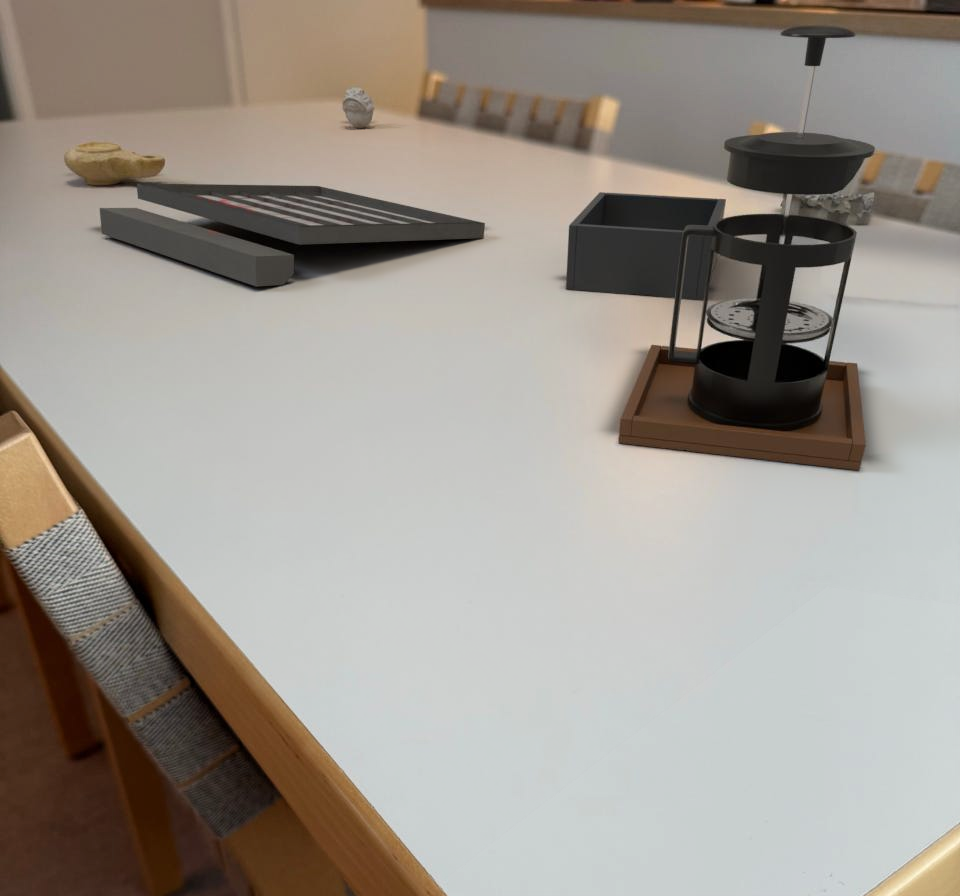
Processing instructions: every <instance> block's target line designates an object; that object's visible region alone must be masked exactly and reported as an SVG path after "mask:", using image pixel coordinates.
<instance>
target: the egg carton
mask: <svg viewBox="0 0 960 896" xmlns="http://www.w3.org/2000/svg"><path fill="white" fill-rule="evenodd" d="M786 198H787V194H783V196H782V200H781V203H780V205H779V207H781V210H780V214H784V209H785V203H786ZM874 201H875V191H871V192H869V193H865V194H862V193H858V194H856V195H855V194H854V193H853V192H852V193H848V194H844V193H843V192H842V191H838V192H836V193H833V194H822V195H798V194H793V198H792V203H791V209H790V215H800V216H809V217H816V218H822V219H827V220H832V221H835V222H839V223H842V224H845V225H847V226H857V225H867V224H868V221H869V217H870V213H871V211H872V206H873V203H874Z"/></svg>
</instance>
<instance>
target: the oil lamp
mask: <svg viewBox="0 0 960 896" xmlns="http://www.w3.org/2000/svg"><path fill="white" fill-rule="evenodd" d="M63 159H64V161H63V162H64V164H65V166H66V167H67V168H68V170H70V171H71V172H72V173H73V174H75V175H76V176H79V177H81V178H82V179H83V180H84V182H85V183H86V184H87V185H90V186H110V185H111V186H112V185H116V184H119V183H121V182H122V181H124V180H127V179H148V178H153V177H157V175H159V174H160V173H161V172H162V171H163V169H164V168H165V165H166V159H165V157H162V156H161V155H159V154H143V153H136V152H135V151H129V150H124V149H122V148H121V146H120V145H119V144H118V143H113V142H106V141H105V142H104V141H103V142H100V141H99V142H98V141H90V142H85V143H79V144H77V145H76V146H75V147H74V148H70V149H68V150H67V151H65V152H64V154H63Z"/></svg>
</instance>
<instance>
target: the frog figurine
mask: <svg viewBox="0 0 960 896" xmlns="http://www.w3.org/2000/svg"><path fill="white" fill-rule="evenodd" d="M345 90H346V91H345V94H344V98H343V99H342V107H341V108H342V111H343V112H344V114H345V118H346V119H347V121H348V123H349V124H350V125H351V126H353V127H354V128H356V129H364V128H366V127H367V126H369V125H370V123H371V122H372V119H373V115H374V111H375V104H374V102H373V100H372V97H371V96H370V95H369V94H368V93H367V92H365V90H363V89H362V88H361V87H359V86H358V87H356V86H352V88H350V89H349V88H347V89H345Z"/></svg>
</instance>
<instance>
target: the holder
mask: <svg viewBox="0 0 960 896" xmlns="http://www.w3.org/2000/svg"><path fill="white" fill-rule="evenodd" d="M726 201H727V199H726V198H712V197H695V196H693V197H692V196H676V195H659V194H658V195H657V194H642V193H641V194H638V193H623V192H620V193H619V192H604V191H603V192H602V191H600V192H598V193H597V194H596V195H595V196H594V198H593V199H592V200H591V201H590V202H589V203H588V204H587V205H586V207H585V208H584V209H582V211H581V212H580V213H579V214H578V215H577V216H576V217H575V218H574V219H573V221H572V222H570V224H569V225H568V238H567V239H568V241H567V259H566V278H565V289H566V290H571V291H572V290H574V291H583V292H584V291H585V292H595V293H596V292H598V293H608V292H609V293H610V294H621V293H624V294H623V295H633V294H636V295H635V296H646V295H649V297H659V296H662V297H661V298H671V297H674V298H673V299H675V293H676V284H677V275H678V267H679V258H680V249H681V241H682V235H683V232H684V228H685V227H686V226H687V225H707V226H713V225H714V224H715V222H717V221H718V220H720V219H724V218H725V208H726ZM711 240H712V236H695V235H690V236H689V237H688V245H687V253H686V262H685V270H684V279H683V287H682V295H681V299H684V298H687V299H686V300H697V299H700V300H701V301H704V293H705V286H706V278H707V271H708V263H709V255H710V248H711ZM718 259H719V254H717V253H715V252H714V258H713V265H712V272H711V278H712V277H713V274H714V271H715V268H716V264H717V261H718Z"/></svg>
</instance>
